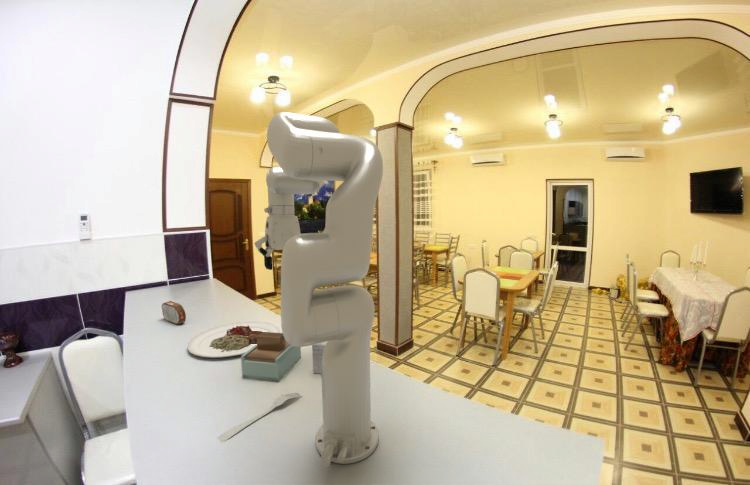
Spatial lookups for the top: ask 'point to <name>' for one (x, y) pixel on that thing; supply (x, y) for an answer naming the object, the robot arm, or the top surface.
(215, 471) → the top surface
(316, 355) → the medicine box
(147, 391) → the top surface
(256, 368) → the slide box
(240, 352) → the plated food
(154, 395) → the top surface
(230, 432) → the fork
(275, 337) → the cover plate
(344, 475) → the top surface
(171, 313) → the tin
